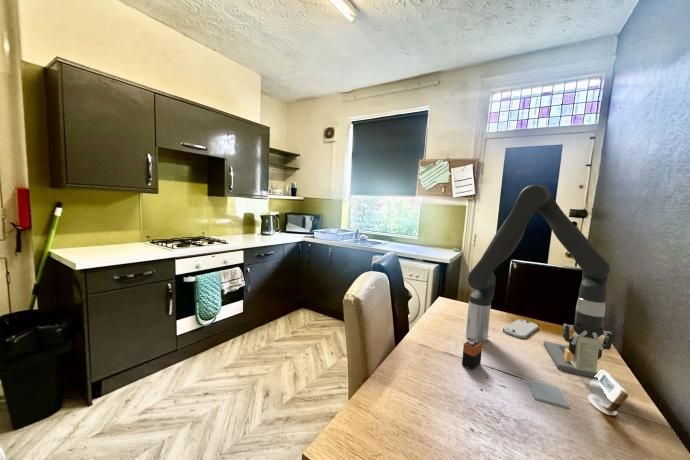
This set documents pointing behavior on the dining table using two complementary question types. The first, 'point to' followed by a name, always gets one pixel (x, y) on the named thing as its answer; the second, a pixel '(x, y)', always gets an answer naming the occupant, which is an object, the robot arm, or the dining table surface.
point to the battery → (472, 354)
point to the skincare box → (585, 354)
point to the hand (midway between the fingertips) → (584, 355)
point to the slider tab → (567, 355)
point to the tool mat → (547, 393)
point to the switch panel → (558, 358)
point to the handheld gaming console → (520, 328)
